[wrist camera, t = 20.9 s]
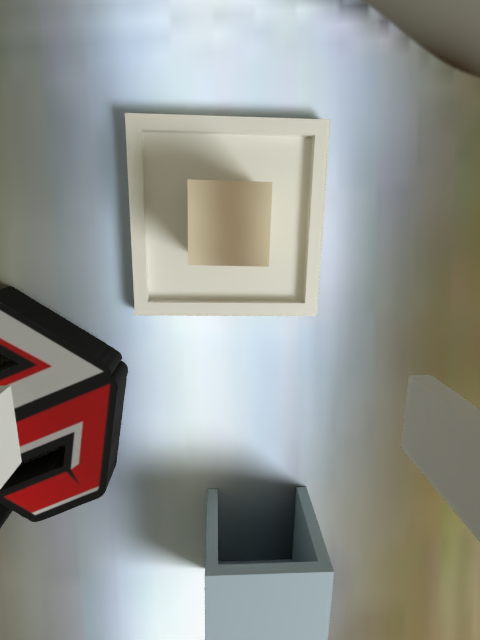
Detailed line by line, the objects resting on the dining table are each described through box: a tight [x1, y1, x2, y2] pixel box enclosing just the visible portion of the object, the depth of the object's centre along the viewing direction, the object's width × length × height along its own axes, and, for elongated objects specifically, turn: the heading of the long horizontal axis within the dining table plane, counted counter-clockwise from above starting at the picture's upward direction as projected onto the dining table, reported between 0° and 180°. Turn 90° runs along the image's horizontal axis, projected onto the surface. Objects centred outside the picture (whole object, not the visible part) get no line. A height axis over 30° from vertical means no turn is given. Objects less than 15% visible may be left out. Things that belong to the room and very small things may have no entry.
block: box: [187, 179, 272, 267], centre depth 27 cm, size 5×5×6 cm
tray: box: [125, 113, 330, 316], centre depth 30 cm, size 14×14×1 cm
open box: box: [205, 487, 334, 640], centre depth 34 cm, size 9×9×9 cm
